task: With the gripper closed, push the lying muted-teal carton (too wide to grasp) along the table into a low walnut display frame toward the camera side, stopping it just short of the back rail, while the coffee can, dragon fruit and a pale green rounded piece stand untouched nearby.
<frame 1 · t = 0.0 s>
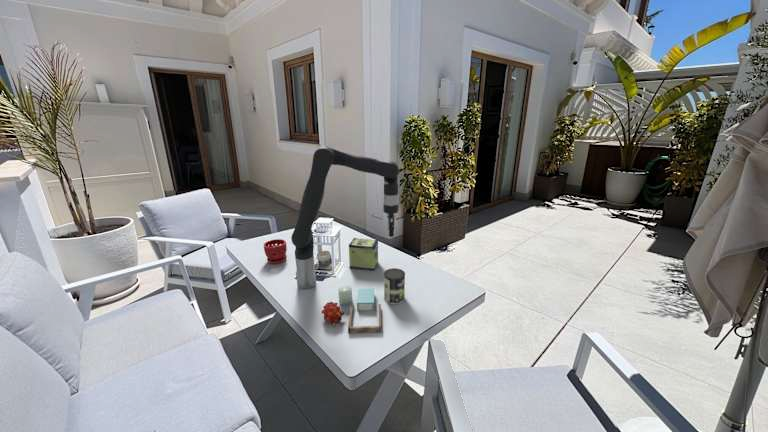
hand: (390, 233, 152), 29 cm above the table, fingers open, 8 cm apart
protein box: (364, 265, 180), on the table
plant pot: (277, 260, 187), on the table
pale green rounded piece: (345, 301, 146), on the table
teal carton: (366, 303, 146), on the table
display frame: (365, 320, 133), on the table
dragon fruit: (333, 319, 134), on the table
coffee can: (394, 298, 149), on the table
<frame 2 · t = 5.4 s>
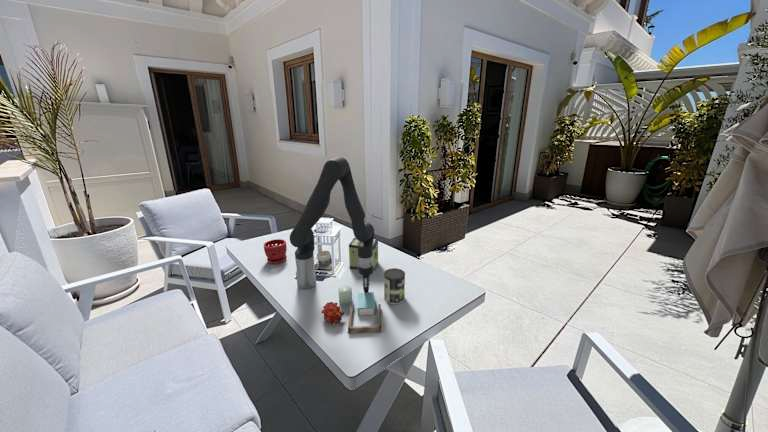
hand: (366, 294, 149), 2 cm above the table, fingers closed
teal carton: (366, 307, 142), on the table, touching gripper
everything else where it was.
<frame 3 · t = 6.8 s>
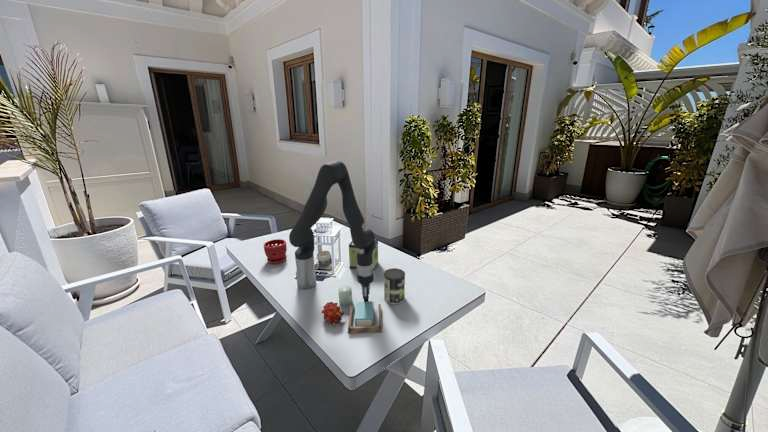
hand: (366, 303, 142), 2 cm above the table, fingers closed
teal carton: (364, 318, 135), on the table
everything else where it was.
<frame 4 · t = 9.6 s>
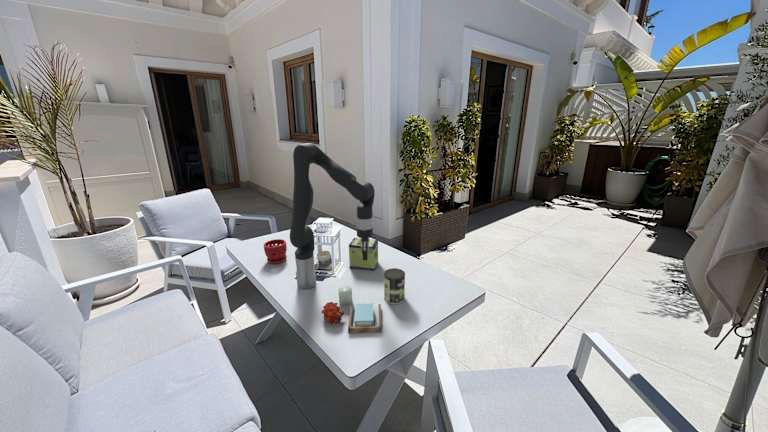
hand: (365, 259, 143), 21 cm above the table, fingers closed
teal carton: (364, 320, 134), on the table
everything else where it was.
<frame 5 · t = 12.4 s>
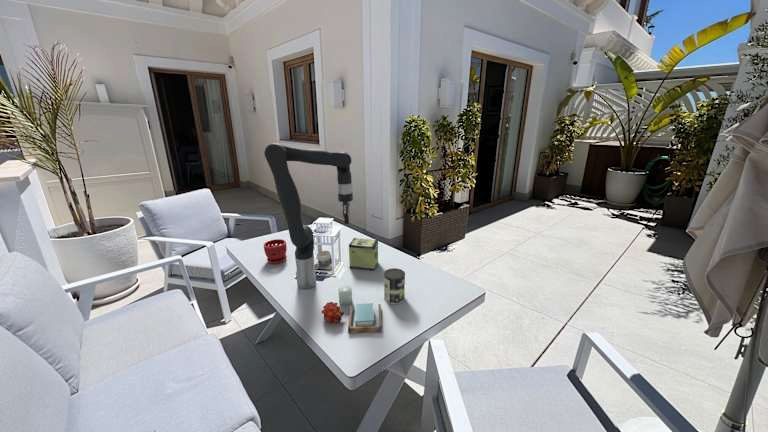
hand: (346, 223, 158), 32 cm above the table, fingers closed
nothing on the table moved.
at the end: teal carton 0.2 cm off-centre on the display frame, point 0.0 cm above the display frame's base; teal carton moved 12.5 cm from its start; teal carton tilted 0° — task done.
